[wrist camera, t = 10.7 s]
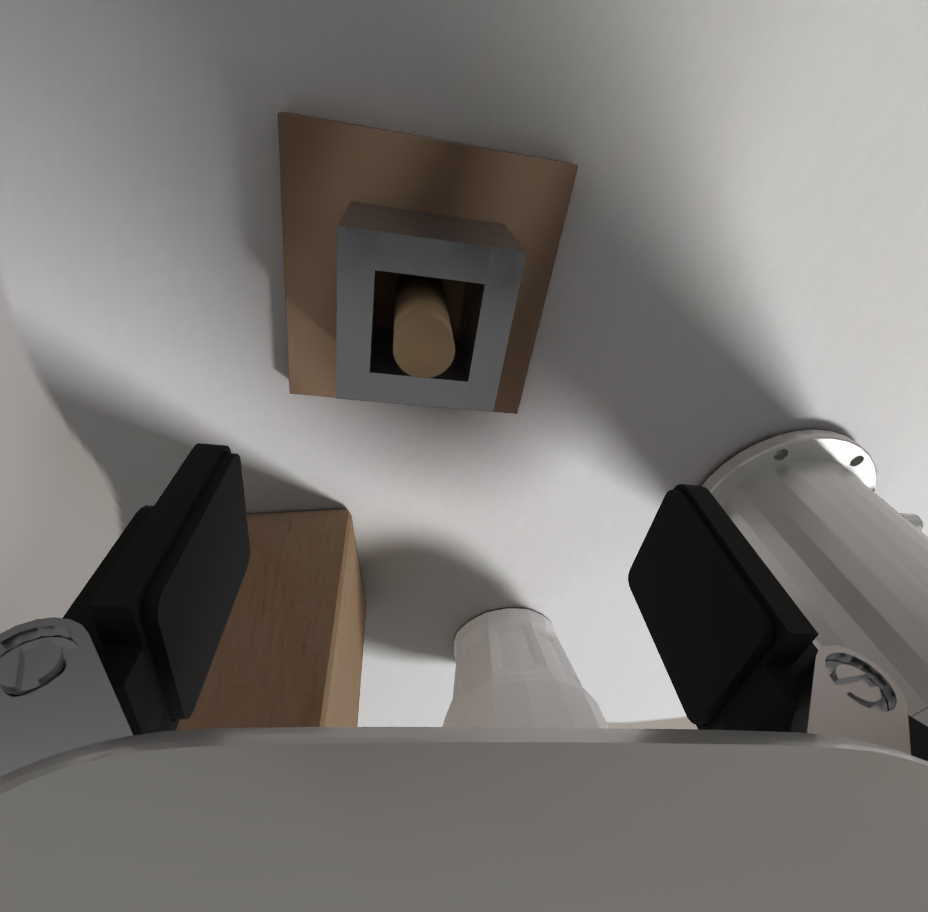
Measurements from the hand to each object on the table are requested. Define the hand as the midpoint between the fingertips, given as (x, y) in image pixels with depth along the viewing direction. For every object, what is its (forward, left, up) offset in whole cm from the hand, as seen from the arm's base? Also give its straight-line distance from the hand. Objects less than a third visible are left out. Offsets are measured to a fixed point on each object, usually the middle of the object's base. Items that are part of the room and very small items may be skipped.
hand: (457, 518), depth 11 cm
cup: (-10, +28, -17) cm, 34 cm away
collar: (0, 0, -15) cm, 15 cm away
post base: (+1, 0, -17) cm, 17 cm away
